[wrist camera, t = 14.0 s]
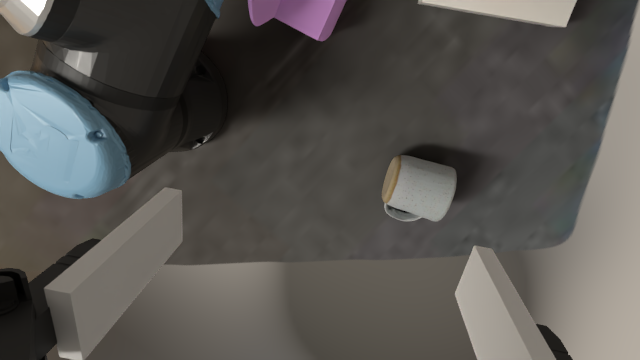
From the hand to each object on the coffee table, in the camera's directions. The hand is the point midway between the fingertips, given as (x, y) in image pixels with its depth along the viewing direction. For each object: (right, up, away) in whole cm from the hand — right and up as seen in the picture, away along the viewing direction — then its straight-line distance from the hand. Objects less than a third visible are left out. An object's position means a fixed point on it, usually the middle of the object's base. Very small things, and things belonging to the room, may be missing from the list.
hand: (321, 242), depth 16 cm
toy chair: (-1, +25, +28) cm, 37 cm away
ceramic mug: (+13, +2, +36) cm, 38 cm away
